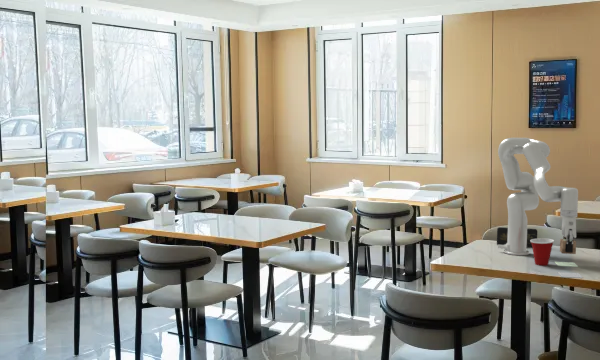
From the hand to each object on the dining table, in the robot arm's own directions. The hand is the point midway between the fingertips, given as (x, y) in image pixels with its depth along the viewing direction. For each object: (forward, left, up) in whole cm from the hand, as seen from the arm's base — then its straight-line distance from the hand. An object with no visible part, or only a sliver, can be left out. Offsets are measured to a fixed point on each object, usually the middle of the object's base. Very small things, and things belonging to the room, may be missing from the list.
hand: (567, 250), depth 312 cm
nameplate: (-18, +45, -7) cm, 49 cm away
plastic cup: (-12, -3, -7) cm, 14 cm away
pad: (0, 0, -7) cm, 7 cm away
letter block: (0, 0, -1) cm, 1 cm away
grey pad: (-3, -24, -7) cm, 25 cm away
